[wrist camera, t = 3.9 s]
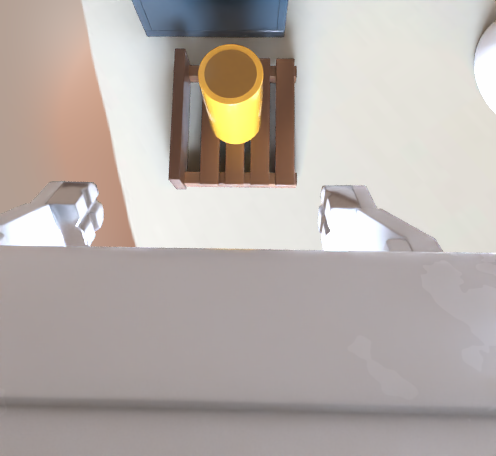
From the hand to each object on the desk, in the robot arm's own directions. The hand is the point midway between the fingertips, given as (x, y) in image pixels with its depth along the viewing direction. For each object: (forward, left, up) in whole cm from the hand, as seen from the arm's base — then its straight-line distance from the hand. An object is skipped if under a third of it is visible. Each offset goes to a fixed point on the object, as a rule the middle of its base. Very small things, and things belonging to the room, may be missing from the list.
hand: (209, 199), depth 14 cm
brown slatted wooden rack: (0, -13, -23) cm, 26 cm away
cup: (0, -13, -21) cm, 25 cm away
